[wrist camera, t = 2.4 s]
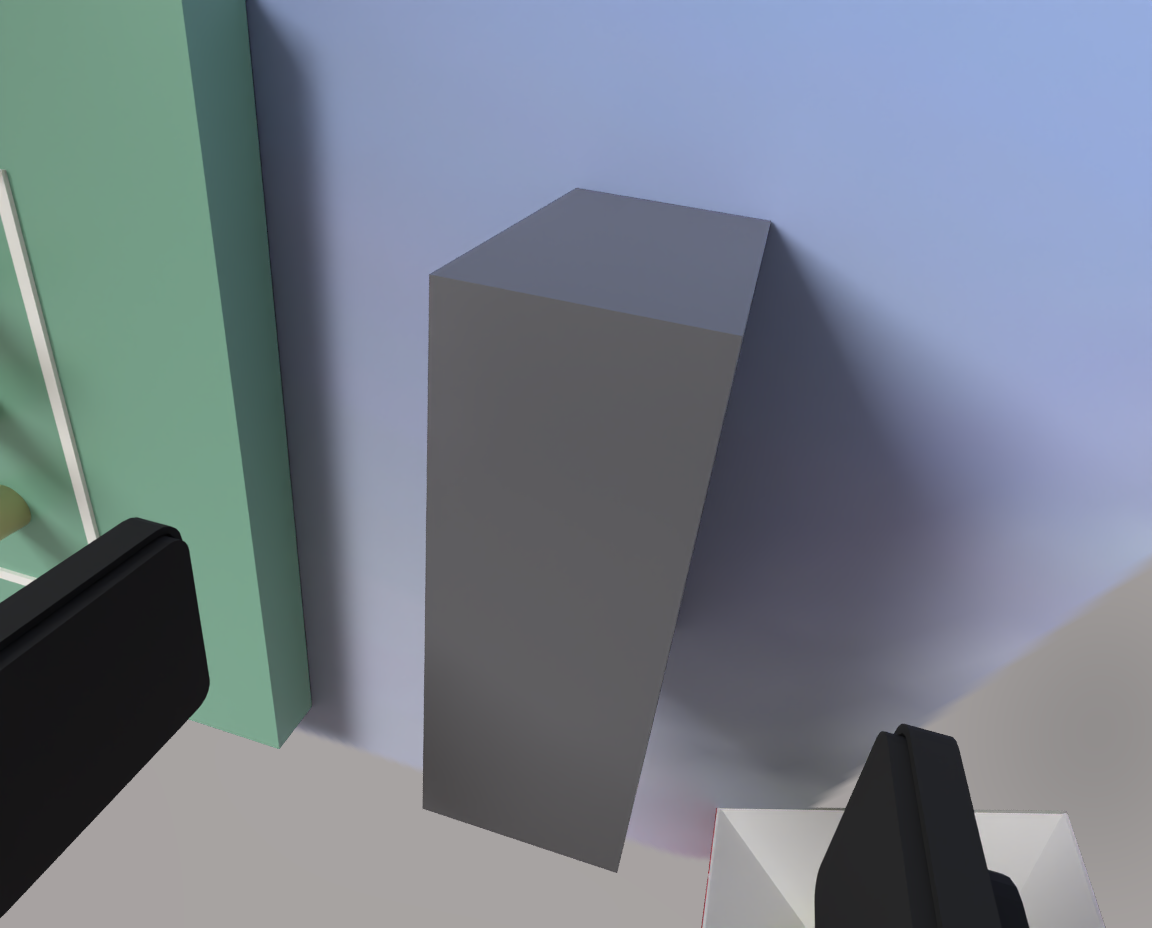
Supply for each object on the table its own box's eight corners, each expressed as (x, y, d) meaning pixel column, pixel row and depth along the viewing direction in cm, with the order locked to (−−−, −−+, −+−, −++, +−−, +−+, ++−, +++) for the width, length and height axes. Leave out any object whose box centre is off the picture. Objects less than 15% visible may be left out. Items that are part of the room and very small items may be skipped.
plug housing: (770, 221, 13) (742, 336, 8) (674, 631, 17) (616, 872, 12) (576, 188, 13) (429, 274, 8) (533, 593, 18) (422, 808, 13)
